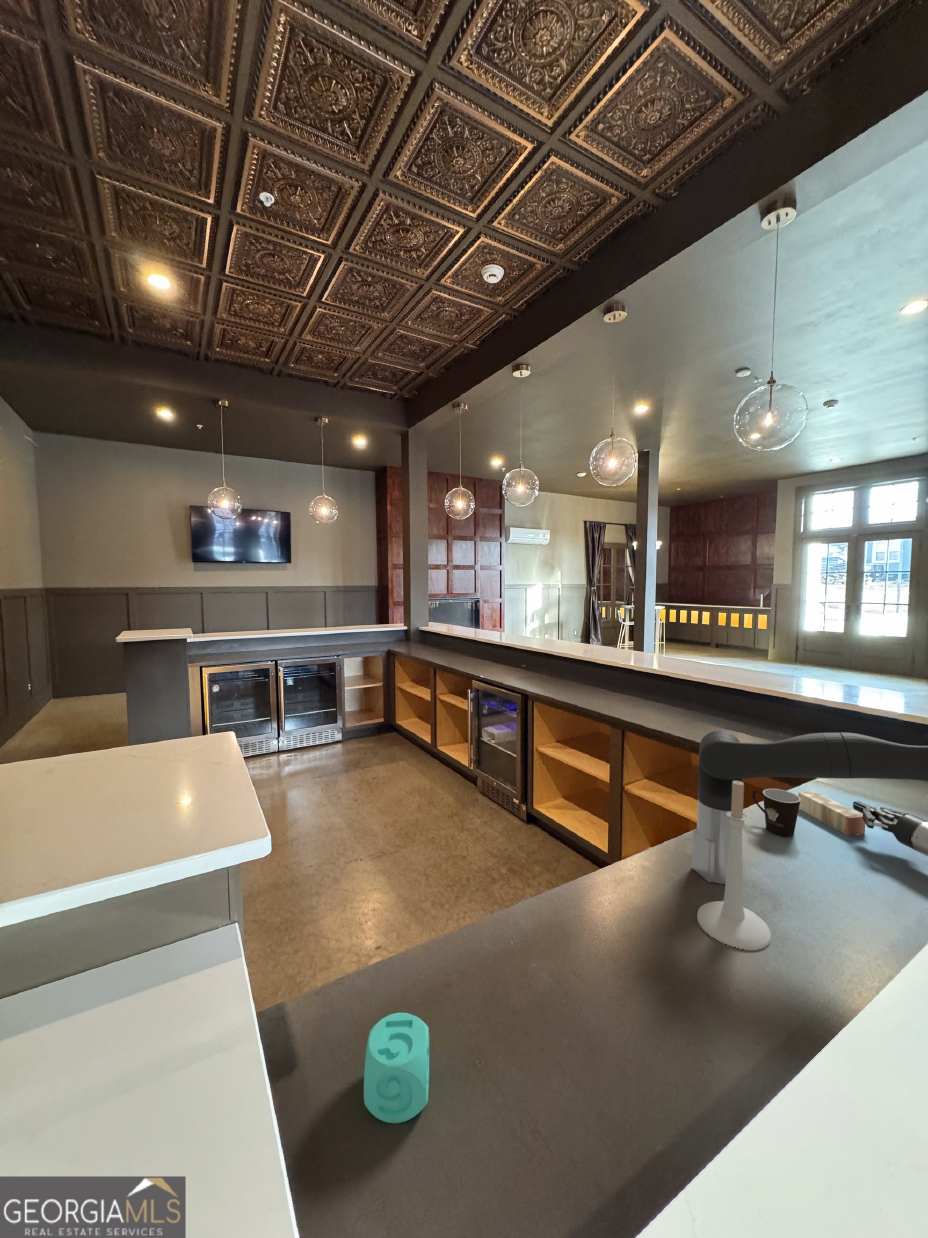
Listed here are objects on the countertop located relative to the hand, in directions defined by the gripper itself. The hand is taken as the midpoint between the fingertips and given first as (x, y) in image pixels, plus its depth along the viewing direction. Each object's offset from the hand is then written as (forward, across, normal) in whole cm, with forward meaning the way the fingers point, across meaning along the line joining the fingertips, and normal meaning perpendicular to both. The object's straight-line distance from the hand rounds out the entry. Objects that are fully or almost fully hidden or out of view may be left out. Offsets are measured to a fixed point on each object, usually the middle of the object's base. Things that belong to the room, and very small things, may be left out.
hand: (855, 804), depth 131 cm
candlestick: (-25, +57, +8) cm, 63 cm away
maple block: (-1, 0, +6) cm, 6 cm away
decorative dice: (-44, +124, +8) cm, 132 cm away
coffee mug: (+6, +18, +8) cm, 21 cm away
